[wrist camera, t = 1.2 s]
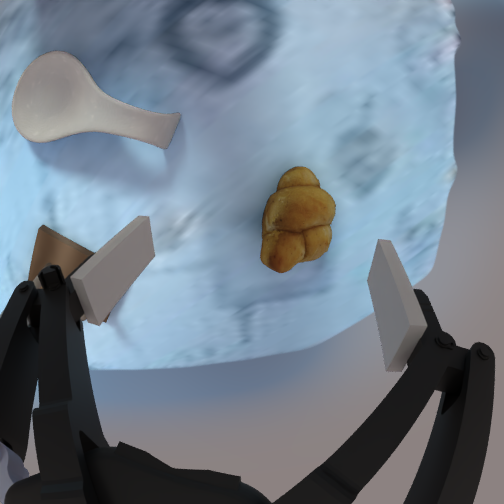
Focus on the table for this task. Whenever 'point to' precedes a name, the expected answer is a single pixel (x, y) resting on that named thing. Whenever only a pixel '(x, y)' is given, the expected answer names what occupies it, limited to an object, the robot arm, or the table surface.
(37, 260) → the pin board
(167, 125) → the spoon rest
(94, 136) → the table surface
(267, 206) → the bread roll
